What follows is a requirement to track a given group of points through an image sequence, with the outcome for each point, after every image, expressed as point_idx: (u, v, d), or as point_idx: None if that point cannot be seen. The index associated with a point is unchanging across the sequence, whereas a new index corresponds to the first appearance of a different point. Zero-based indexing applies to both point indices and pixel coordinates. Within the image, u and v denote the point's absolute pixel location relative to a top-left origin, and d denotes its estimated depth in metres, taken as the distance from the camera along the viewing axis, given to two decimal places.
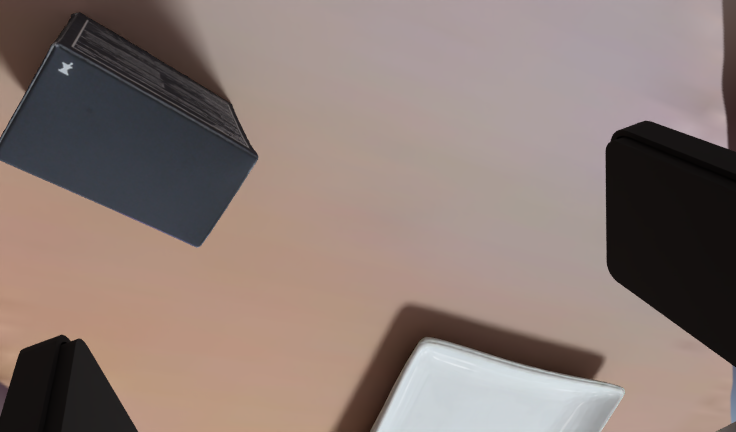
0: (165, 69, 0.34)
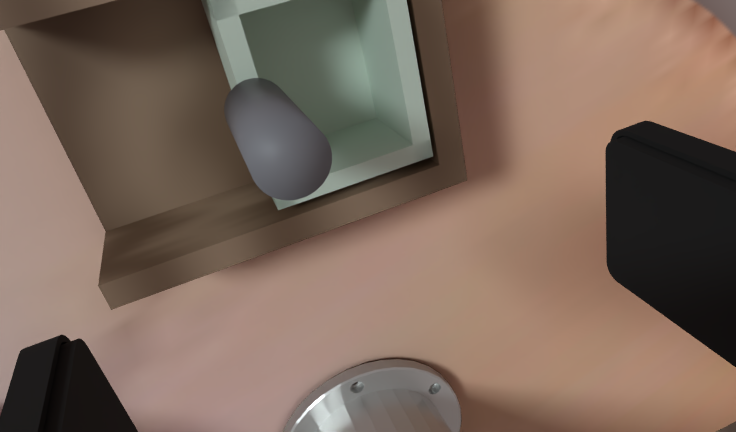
0: None
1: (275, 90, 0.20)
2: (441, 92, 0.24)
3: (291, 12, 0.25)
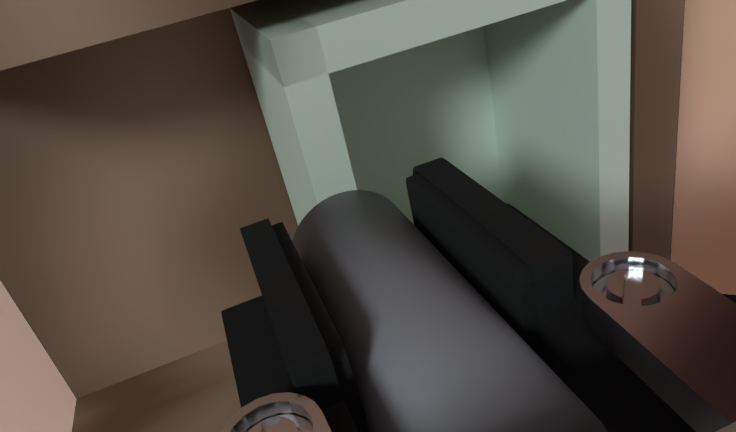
0: None
1: (410, 235, 0.09)
2: (654, 191, 0.14)
3: None
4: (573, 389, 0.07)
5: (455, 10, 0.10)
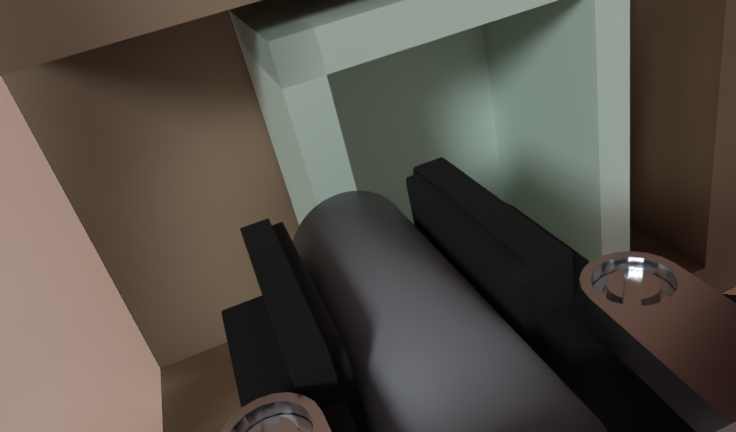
0: None
1: (409, 236, 0.09)
2: (733, 156, 0.14)
3: None
4: (573, 389, 0.07)
5: (453, 9, 0.10)
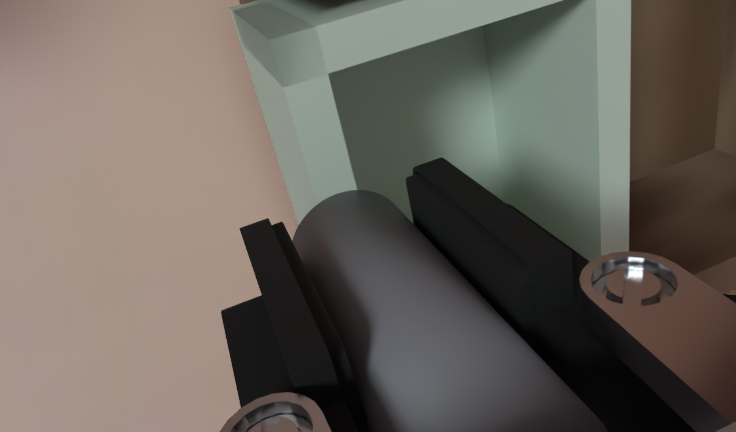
0: None
1: (410, 235, 0.09)
2: None
3: None
4: (573, 389, 0.07)
5: (455, 9, 0.10)
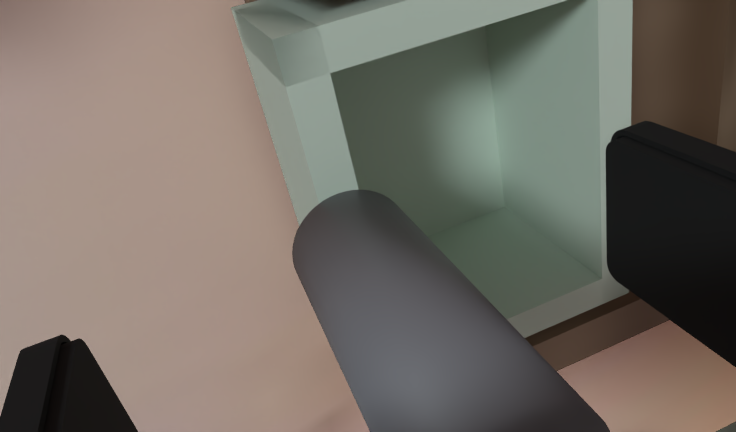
0: None
1: (411, 235, 0.09)
2: None
3: None
4: None
5: (457, 10, 0.10)
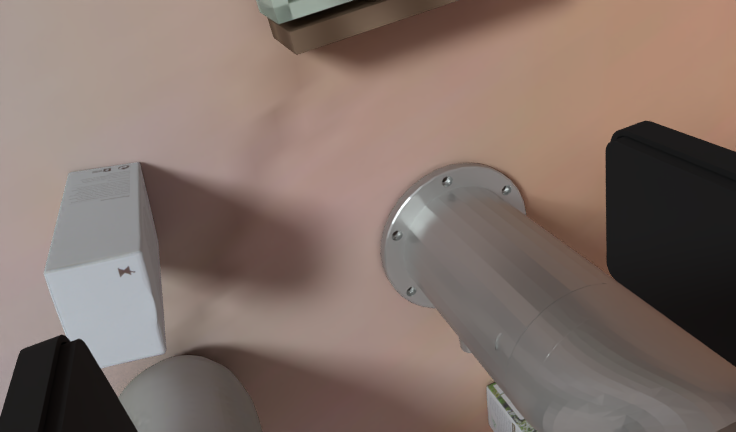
0: None
1: None
2: None
3: None
4: None
5: None
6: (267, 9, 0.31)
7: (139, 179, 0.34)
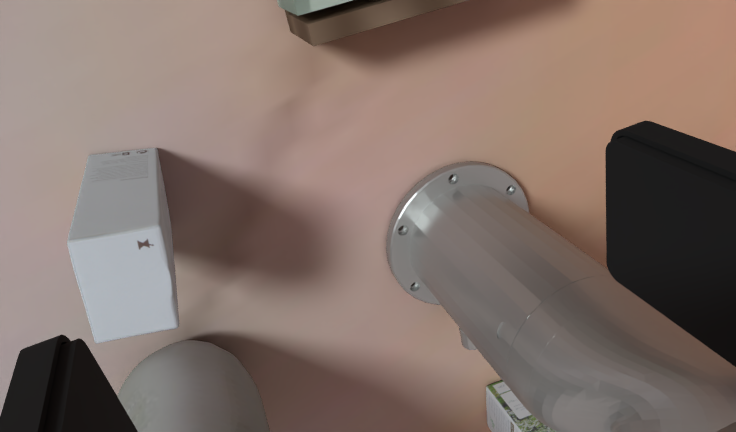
0: None
1: None
2: None
3: None
4: None
5: None
6: (287, 2, 0.33)
7: (157, 162, 0.35)
